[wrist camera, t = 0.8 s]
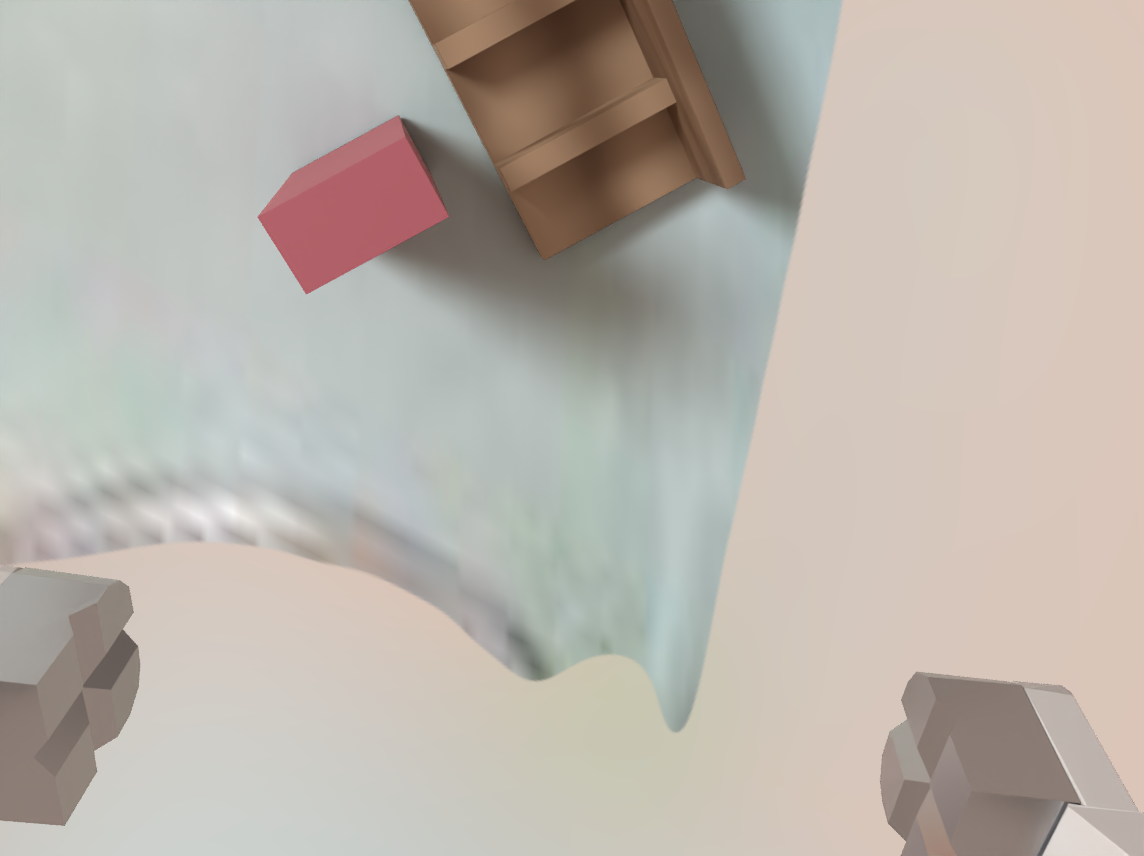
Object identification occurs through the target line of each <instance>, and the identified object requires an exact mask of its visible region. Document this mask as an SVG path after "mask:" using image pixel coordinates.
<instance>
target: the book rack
mask: <svg viewBox="0 0 1144 856" xmlns="http://www.w3.org/2000/svg"><path fill="white" fill-rule="evenodd" d="M409 2H410V4H411V6H412V8H413V10H414V12H415V14H416V16H417V18H418V20H419V22H420V23H421V25H422V27H423V29H424V31H425V33H426V35H427V37H428V39H429V41H430V43H431V45H432V47H433V49H434V51H435V52H436V54H437V56H438V58H439V60H440V62H441V64H442V66H443V68H444V70H445V72H446V74H447V76H448V78H449V80H450V81H451V83H452V85H453V87H454V89H455V91H456V93H457V95H458V97H459V99H460V101H461V103H462V105H463V107H464V109H465V110H466V112H467V114H468V116H469V118H470V120H471V122H472V124H473V126H474V128H475V130H476V132H477V134H478V136H479V138H480V139H481V141H482V143H483V145H484V147H485V149H486V151H487V153H488V155H489V157H490V159H491V161H492V163H493V165H494V167H495V168H496V170H497V172H498V174H499V176H500V178H501V180H502V182H503V184H504V186H505V188H506V190H507V192H508V194H509V195H510V197H511V199H512V201H513V203H514V205H515V207H516V209H517V211H518V213H519V215H520V217H521V219H522V221H523V223H524V224H525V226H526V228H527V230H528V232H529V234H530V236H531V238H532V240H533V242H534V244H535V246H536V248H537V250H538V252H539V253H540V255H541V257H542V258H543V259H544V260H546V259H548V258H549V257H551V256H553V255H555V254H557V253H559V252H560V251H562V250H564V249H566V248H568V247H570V246H572V245H573V244H575V243H577V242H579V241H581V240H583V239H584V238H586V237H588V236H590V235H592V234H594V233H596V232H597V231H599V230H601V229H603V228H605V227H607V226H608V225H610V224H612V223H614V222H616V221H618V220H619V219H621V218H623V217H625V216H627V215H629V214H631V213H632V212H634V211H636V210H638V209H640V208H642V207H643V206H645V205H647V204H649V203H651V202H653V201H655V200H656V199H658V198H660V197H662V196H664V195H666V194H667V193H669V192H671V191H673V190H675V189H677V188H678V187H680V186H682V185H684V184H686V183H688V182H690V181H691V180H693V179H695V178H699V179H701V180H704V181H707V182H709V183H712V184H715V185H717V186H720V187H723V188H725V189H729V188H731V187H732V186H734V185H736V184H738V183H740V182H742V181H743V180H745V179H746V178H745V176H744V173H743V171H742V168H741V166H740V164H739V161H738V159H737V156H736V154H735V151H734V149H733V147H732V144H731V142H730V139H729V137H728V135H727V132H726V130H725V127H724V125H723V122H722V120H721V118H720V115H719V113H718V110H717V108H716V106H715V103H714V101H713V98H712V96H711V93H710V91H709V89H708V86H707V84H706V81H705V79H704V77H703V74H702V72H701V69H700V67H699V64H698V62H697V60H696V57H695V55H694V52H693V50H692V48H691V45H690V43H689V40H688V38H687V35H686V33H685V31H684V28H683V26H682V23H681V21H680V19H679V16H678V14H677V11H676V9H675V6H674V4H673V2H672V0H409Z"/></svg>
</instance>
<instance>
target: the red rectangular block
mask: <svg viewBox="0 0 1144 856" xmlns="http://www.w3.org/2000/svg"><path fill="white" fill-rule="evenodd" d="M448 217H449V215H448V213H447V210H446V208H445V206H444V203H443V201H442V199H441V197H440V194H439V192H438V190H437V187H436V185H435V183H434V180H433V178H432V176H431V173H430V172H429V170H428V168H427V166H426V164H425V162H424V161H423V159H422V157H421V155H420V153H419V151H418V150H417V148H416V146H415V144H414V142H413V140H412V139H411V137H410V135H409V133H408V131H407V129H406V128H405V126H404V124H403V122H402V120H401V118H400V117H399V115H398V116H396V117H394V118H393V119H391V120H389V121H387V122H385V123H383V124H382V125H380V126H378V127H376V128H374V129H372V130H371V131H369V132H367V133H365V134H363V135H361V136H360V137H358V138H356V139H354V140H352V141H350V142H349V143H347V144H345V145H343V146H341V147H339V148H338V149H336V150H334V151H332V152H330V153H328V154H326V155H325V156H323V157H321V158H319V159H317V160H315V161H314V162H312V163H310V164H308V165H306V166H304V167H303V168H301V169H299V170H297V171H295V172H293V173H292V174H291V175H290V177H289V178H288V179H287V180H286V182H285V183H284V184H283V186H282V187H281V188H280V189H279V191H278V192H277V193H276V194H275V196H274V197H273V198H272V199H271V201H270V202H269V203H268V204H267V206H266V207H265V208H264V210H263V211H262V212H261V213H260V215H259V216H258V218H259V220H260V222H261V223H262V225H263V226H264V228H265V230H266V231H267V233H268V234H269V236H270V238H271V239H272V241H273V242H274V244H275V245H276V247H277V249H278V250H279V252H280V253H281V255H282V257H283V258H284V260H285V261H286V263H287V264H288V266H289V268H290V269H291V271H292V272H293V274H294V276H295V277H296V279H297V280H298V282H299V284H300V285H301V287H302V288H303V290H304V291H305V293H306V294H308V293H310V292H312V291H313V290H315V289H317V288H319V287H321V286H323V285H325V284H326V283H328V282H330V281H332V280H334V279H336V278H337V277H339V276H341V275H343V274H345V273H347V272H348V271H350V270H352V269H354V268H356V267H358V266H359V265H361V264H363V263H365V262H367V261H369V260H371V259H372V258H374V257H376V256H378V255H380V254H382V253H383V252H385V251H387V250H389V249H391V248H393V247H394V246H396V245H398V244H400V243H402V242H404V241H406V240H407V239H409V238H411V237H413V236H415V235H417V234H418V233H420V232H422V231H424V230H426V229H428V228H429V227H431V226H433V225H435V224H437V223H439V222H441V221H442V220H444V219H446V218H448Z"/></svg>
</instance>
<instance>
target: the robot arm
mask: <svg viewBox="0 0 1144 856" xmlns="http://www.w3.org/2000/svg"><path fill="white" fill-rule="evenodd" d="M132 614H133V606H132V601H131V596H130V590H129V586H127V585H126V584H124V583H123V582H121V581H120V580H113V579H106V578H99V577H92V576H84V575H77V574H70V573H63V572H55V571H48V570H41V569H33V568H18V567H13V566H5V565H0V820H3V821H14V822H26V823H39V824H50V825H62V826H65V824H66V822H67V821H68V819H69V817H70V816H71V814H72V812H73V811H74V809H75V807H76V806H77V804H78V802H79V801H80V799H81V797H82V796H83V794H84V792H85V791H86V789H87V787H88V786H89V784H90V782H91V781H92V779H93V777H94V776H95V774H96V772H97V768H96V762H95V755H94V751H95V750H96V749H98V748H100V747H101V746H103V745H105V744H106V743H108V742H110V741H111V740H113V739H115V738H116V737H118V735H119V733H120V731H121V730H122V727H123V726H124V724H125V723H126V721H127V719H128V717H129V715H130V713H131V710H132V706H133V703H134V700H135V697H136V693H137V690H138V687H139V672H140V659H139V650H138V646H137V645H136V643H134V641H133V640H132V639H131V638H130V637H129V636H128V635H127V634H126V633H125V631H124V630H123V628H124V626H125V624H126V623H127V622H128V620H129V619H130V617H131V616H132ZM901 701H902V704H903V707H904V710H905V713H906V716H907V720H906V721H904V722H903V723H901V724H900V725H898V726H897V727H896V728H894V729H893V730H891V731H890V733H889V736H888V739H887V742H886V745H885V749H884V752H883V755H882V765H881V778H880V779H881V780H880V784H881V793H882V801H883V806H884V810H885V813H886V817H887V821H888V824H889V825H890V826H891V827H892V828H893V829H894V830H895V831H896V832H897V833H898V834H899V835H900V836H901V837H902V838H903V839H904V840H905V841H906V844H905V846H904V849H903V851H902V854H901V856H1144V813H1143V812H1139V811H1138V809H1137V807H1136V806H1135V804H1134V802H1133V800H1132V799H1131V797H1130V795H1129V794H1128V791H1127V790H1126V788H1125V786H1124V784H1123V783H1122V781H1121V779H1120V777H1119V775H1118V774H1117V772H1116V770H1115V768H1114V767H1113V765H1112V763H1111V761H1110V760H1109V758H1108V756H1107V754H1106V752H1105V751H1104V749H1103V747H1102V745H1101V744H1100V742H1099V740H1098V738H1097V737H1096V735H1095V733H1094V731H1093V729H1092V728H1091V726H1090V724H1089V722H1088V720H1087V719H1086V717H1085V715H1084V713H1083V712H1082V710H1081V708H1080V706H1079V704H1078V703H1077V701H1076V699H1075V698H1074V696H1073V694H1072V693H1071V692H1070V691H1068V690H1067V689H1066V688H1064V687H1063V686H1060V685H1049V684H1038V683H1027V682H1017V681H1013V682H1011V683H1010V682H1007V681H997V680H988V679H979V678H970V677H960V676H950V675H941V674H933V673H923V672H916V673H915V674H914V675H913V677H912V678H911V679H910V680H909V681H908V683H907V686H906V689H905V691H904V694H903V697H902V699H901Z"/></svg>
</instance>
